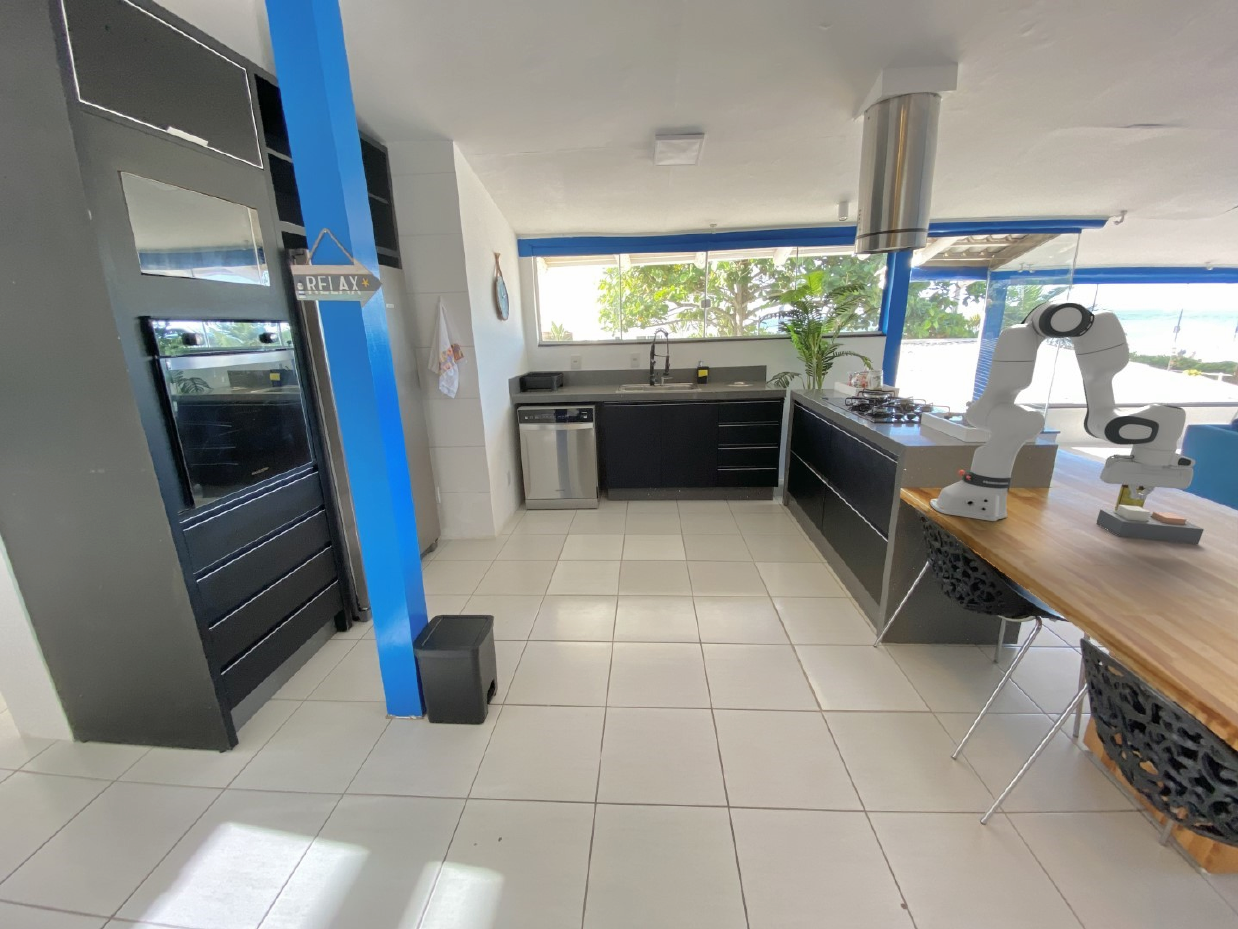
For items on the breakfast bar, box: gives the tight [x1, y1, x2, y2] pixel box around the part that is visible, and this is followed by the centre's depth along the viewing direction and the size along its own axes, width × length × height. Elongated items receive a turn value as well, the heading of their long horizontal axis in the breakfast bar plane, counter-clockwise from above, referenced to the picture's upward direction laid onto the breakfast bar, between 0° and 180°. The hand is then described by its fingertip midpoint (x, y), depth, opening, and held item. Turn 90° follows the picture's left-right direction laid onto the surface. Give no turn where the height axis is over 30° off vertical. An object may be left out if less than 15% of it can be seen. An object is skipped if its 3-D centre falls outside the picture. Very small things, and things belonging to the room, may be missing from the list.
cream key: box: [1116, 505, 1151, 521], centre depth 148 cm, size 5×5×4 cm
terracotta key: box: [1151, 511, 1187, 525], centre depth 145 cm, size 5×5×4 cm
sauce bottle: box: [1114, 484, 1146, 511], centre depth 159 cm, size 6×6×20 cm
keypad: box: [1096, 508, 1205, 545], centre depth 147 cm, size 19×11×5 cm, turn 72°
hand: (1137, 498), depth 146 cm, fingers closed
